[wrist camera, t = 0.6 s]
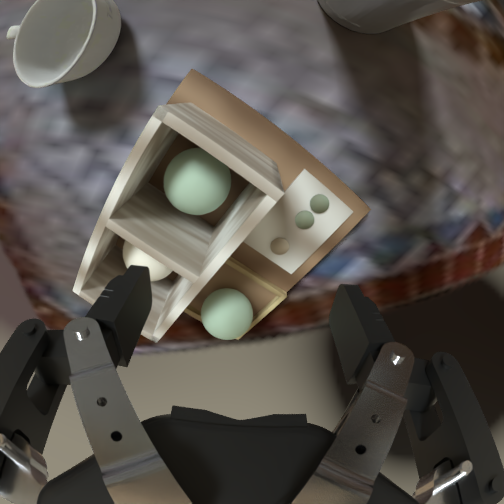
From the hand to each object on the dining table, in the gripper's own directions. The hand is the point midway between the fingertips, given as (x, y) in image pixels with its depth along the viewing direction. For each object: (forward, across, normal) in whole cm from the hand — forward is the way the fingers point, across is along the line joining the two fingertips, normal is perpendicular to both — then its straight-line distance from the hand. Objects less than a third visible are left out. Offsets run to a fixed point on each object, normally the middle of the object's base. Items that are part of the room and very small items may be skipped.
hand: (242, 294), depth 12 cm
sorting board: (+20, +3, +5) cm, 20 cm away
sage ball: (+19, +1, +14) cm, 23 cm away
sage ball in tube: (+18, +4, -1) cm, 18 cm away
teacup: (+19, +20, -17) cm, 33 cm away
